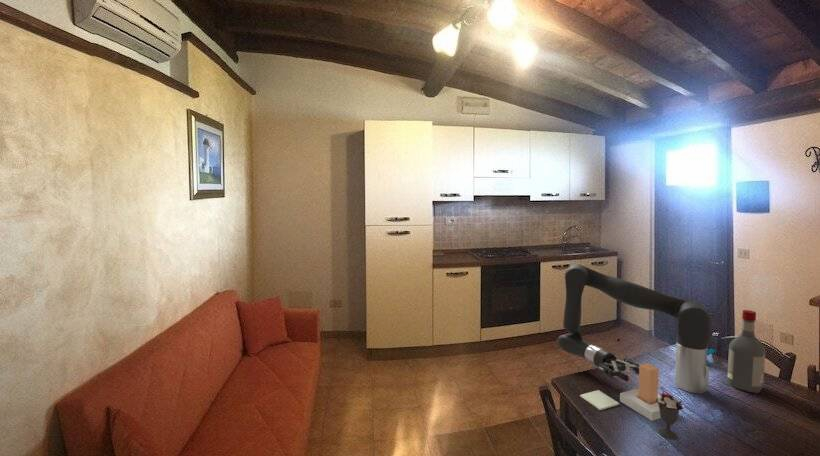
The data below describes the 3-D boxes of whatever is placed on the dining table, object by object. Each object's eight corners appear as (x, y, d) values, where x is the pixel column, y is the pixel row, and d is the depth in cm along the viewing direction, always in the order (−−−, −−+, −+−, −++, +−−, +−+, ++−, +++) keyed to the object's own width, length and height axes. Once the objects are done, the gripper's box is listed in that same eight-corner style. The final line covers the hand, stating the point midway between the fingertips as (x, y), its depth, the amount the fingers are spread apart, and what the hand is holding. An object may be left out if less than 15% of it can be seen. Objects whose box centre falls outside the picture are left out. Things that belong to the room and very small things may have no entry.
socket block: (643, 394, 129) (643, 386, 129) (677, 412, 118) (677, 404, 117) (619, 400, 125) (620, 393, 125) (651, 420, 114) (652, 412, 114)
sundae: (649, 427, 111) (651, 383, 109) (668, 425, 111) (670, 382, 110) (666, 441, 104) (668, 395, 103) (686, 440, 105) (688, 394, 103)
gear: (705, 353, 156) (718, 345, 148) (714, 366, 152) (727, 359, 144) (681, 357, 156) (692, 349, 148) (689, 370, 152) (701, 363, 144)
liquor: (764, 387, 131) (769, 312, 128) (758, 395, 126) (763, 317, 123) (732, 377, 138) (736, 306, 136) (725, 385, 133) (729, 311, 130)
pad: (598, 391, 132) (598, 390, 132) (619, 404, 123) (619, 403, 123) (580, 396, 129) (580, 394, 129) (600, 410, 120) (600, 408, 120)
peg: (646, 402, 124) (647, 363, 123) (657, 408, 120) (658, 368, 119) (638, 404, 123) (639, 365, 121) (648, 411, 119) (650, 370, 118)
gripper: (586, 351, 138) (622, 370, 122) (613, 345, 142) (651, 363, 127) (586, 369, 138) (622, 390, 123) (612, 363, 143) (650, 382, 127)
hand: (636, 376), depth 125 cm, fingers open, 8 cm apart
